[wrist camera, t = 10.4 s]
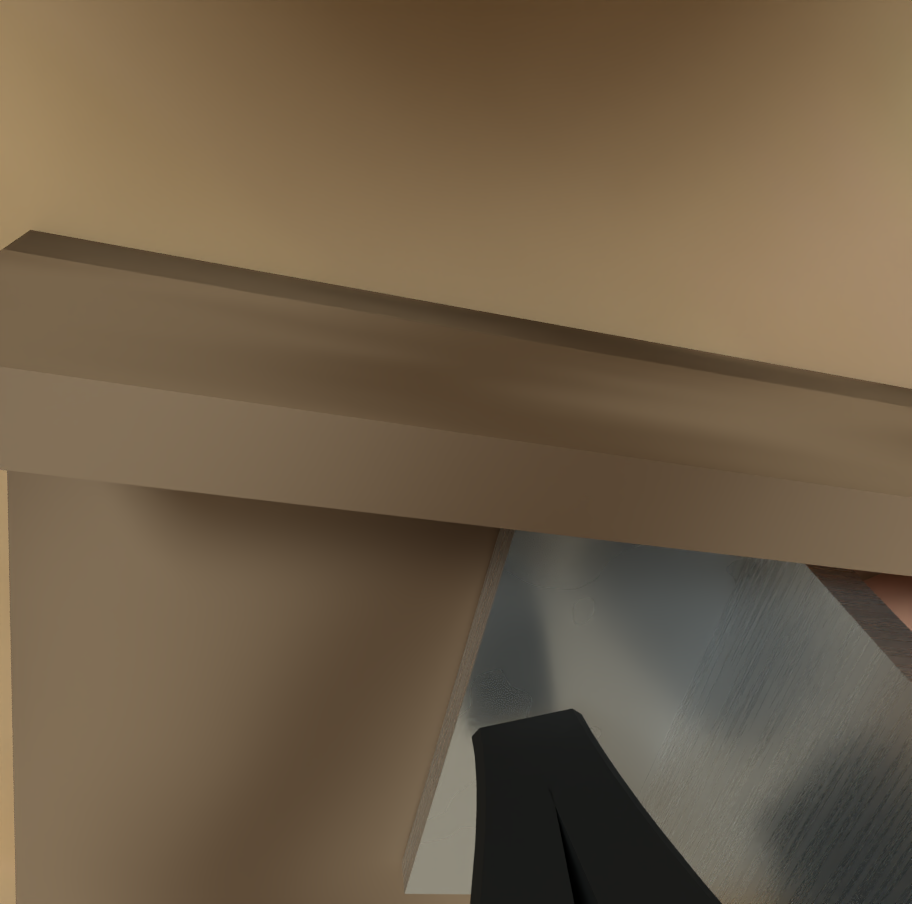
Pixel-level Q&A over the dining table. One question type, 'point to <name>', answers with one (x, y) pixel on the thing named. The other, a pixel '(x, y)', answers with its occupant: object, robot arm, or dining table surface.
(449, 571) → the shelf
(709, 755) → the bookend
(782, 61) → the dining table surface
